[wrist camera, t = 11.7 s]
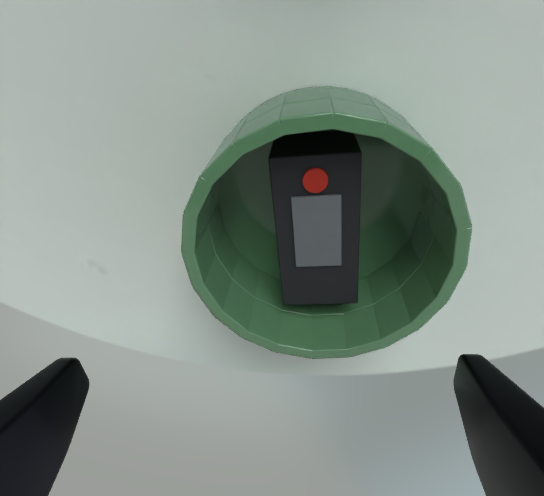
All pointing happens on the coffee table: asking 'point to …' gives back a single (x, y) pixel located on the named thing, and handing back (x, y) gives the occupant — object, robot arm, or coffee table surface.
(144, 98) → the coffee table surface
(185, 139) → the coffee table surface
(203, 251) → the bowl
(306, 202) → the remote
